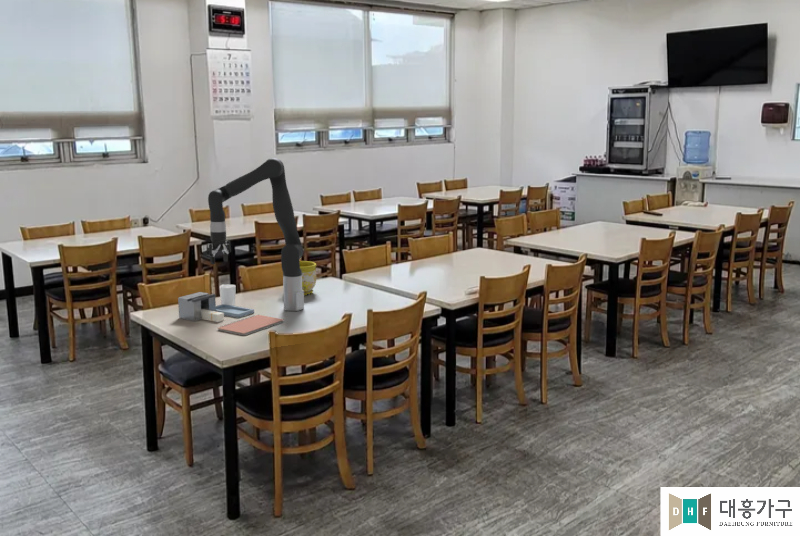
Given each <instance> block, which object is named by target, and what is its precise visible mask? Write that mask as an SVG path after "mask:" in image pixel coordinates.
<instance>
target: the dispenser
mask: <svg viewBox="0 0 800 536" xmlns="http://www.w3.org/2000/svg"><path fill="white" fill-rule="evenodd" d="M177 300H178V301H177V302H178V303H177V304H178V318H179V319H181V320H187V321H191V322H196V321H200V320H202V319H201V309H205V310H210V311H216V306H217V303H216V294H215V293H211V294H210V293H208V292H202V291H198V292H194V293H191V294H186V295H183V296H179V297H177Z"/></svg>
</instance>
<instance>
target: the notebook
mask: <svg viewBox="0 0 800 536" xmlns="http://www.w3.org/2000/svg"><path fill="white" fill-rule="evenodd" d="M284 321H285V320H284V319H283V318H280V317H279V318H278V317H272V316H267V315H263V314H262V315H260V314H256V315H255V314H252V315H251V316H248V317H243V318H241V319H238V320H235V321H232V322H229V323H226V324H223V325H221V326H219V327H217V330H218V331H219V332H225V333H229V334H234V335H240V336H243V335H245V336H247V334H248V335H251V334H254V333H256V331H257V332H260V331H262V330H265V329H267V327H268V328H271V327H274V326H277V325H279V324H282V323H284ZM276 324H277V325H276ZM273 325H274V326H273ZM270 326H271V327H270ZM264 328H265V329H264ZM261 329H262V330H261ZM253 332H254V333H253ZM250 333H251V334H250Z"/></svg>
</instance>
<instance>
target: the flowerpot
mask: <svg viewBox="0 0 800 536" xmlns="http://www.w3.org/2000/svg"><path fill="white" fill-rule="evenodd" d="M299 261H300V269H301V270H302V290H304V295H305V296H308V295H307V294H310V293H311V294H312V293H313V292H314V288H315V286H316V283H317V272H316V271H317V269H316V267H317V263H316V262H314V261H311V260H309V261H307V260H299ZM311 294H310V295H311Z"/></svg>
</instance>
